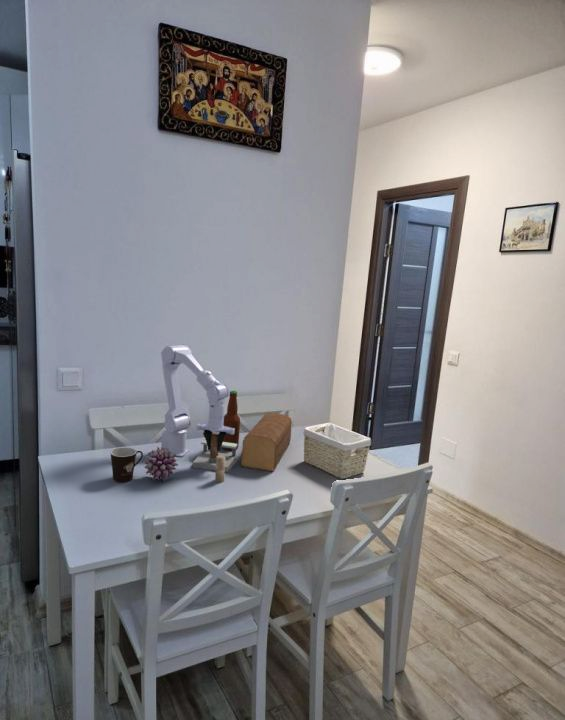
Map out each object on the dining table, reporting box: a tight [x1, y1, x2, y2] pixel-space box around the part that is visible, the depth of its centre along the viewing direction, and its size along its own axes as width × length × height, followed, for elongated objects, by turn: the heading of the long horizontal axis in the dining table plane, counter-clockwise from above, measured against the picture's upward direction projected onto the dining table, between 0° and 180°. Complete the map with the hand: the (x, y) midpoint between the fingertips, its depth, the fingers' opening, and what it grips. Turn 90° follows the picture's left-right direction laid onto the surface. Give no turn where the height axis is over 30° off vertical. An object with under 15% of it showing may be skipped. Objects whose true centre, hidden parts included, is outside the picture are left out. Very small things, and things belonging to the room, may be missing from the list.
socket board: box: [192, 439, 239, 473], centre depth 189 cm, size 14×13×7 cm
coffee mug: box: [110, 447, 144, 484], centre depth 169 cm, size 12×9×10 cm
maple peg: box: [214, 455, 226, 483], centre depth 173 cm, size 3×3×9 cm
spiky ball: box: [143, 446, 179, 481], centre depth 170 cm, size 12×12×12 cm
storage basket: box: [303, 422, 372, 480], centre depth 195 cm, size 24×16×15 cm
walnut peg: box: [209, 432, 219, 459], centre depth 185 cm, size 3×3×9 cm
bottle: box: [221, 390, 241, 451], centre depth 205 cm, size 7×7×25 cm
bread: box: [240, 412, 293, 472], centre depth 202 cm, size 14×34×14 cm, turn 168°
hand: (214, 449), depth 186 cm, fingers closed on walnut peg, 3 cm apart
